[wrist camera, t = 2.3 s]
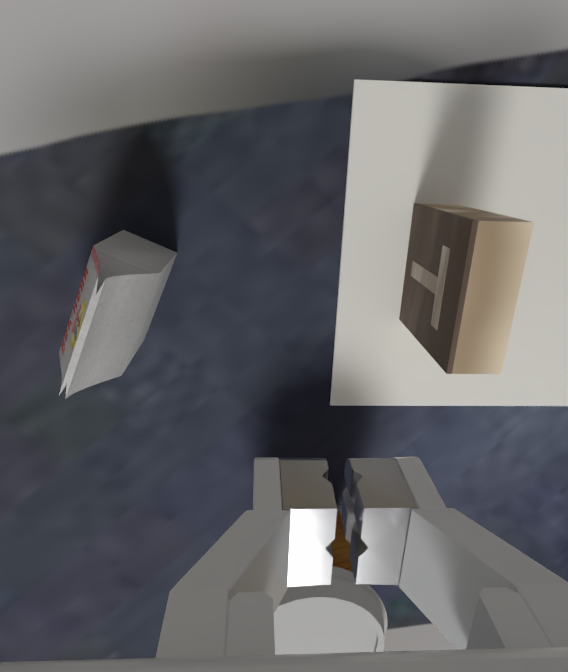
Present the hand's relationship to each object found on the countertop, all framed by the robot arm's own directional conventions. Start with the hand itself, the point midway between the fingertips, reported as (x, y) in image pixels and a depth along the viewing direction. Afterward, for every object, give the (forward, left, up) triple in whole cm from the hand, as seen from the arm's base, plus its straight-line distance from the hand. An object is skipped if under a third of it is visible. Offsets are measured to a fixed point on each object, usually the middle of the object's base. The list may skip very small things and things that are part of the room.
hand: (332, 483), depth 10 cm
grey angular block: (+10, +2, -23) cm, 25 cm away
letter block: (-10, 0, -23) cm, 25 cm away
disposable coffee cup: (-2, +21, -23) cm, 31 cm away
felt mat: (-14, 0, -23) cm, 27 cm away
